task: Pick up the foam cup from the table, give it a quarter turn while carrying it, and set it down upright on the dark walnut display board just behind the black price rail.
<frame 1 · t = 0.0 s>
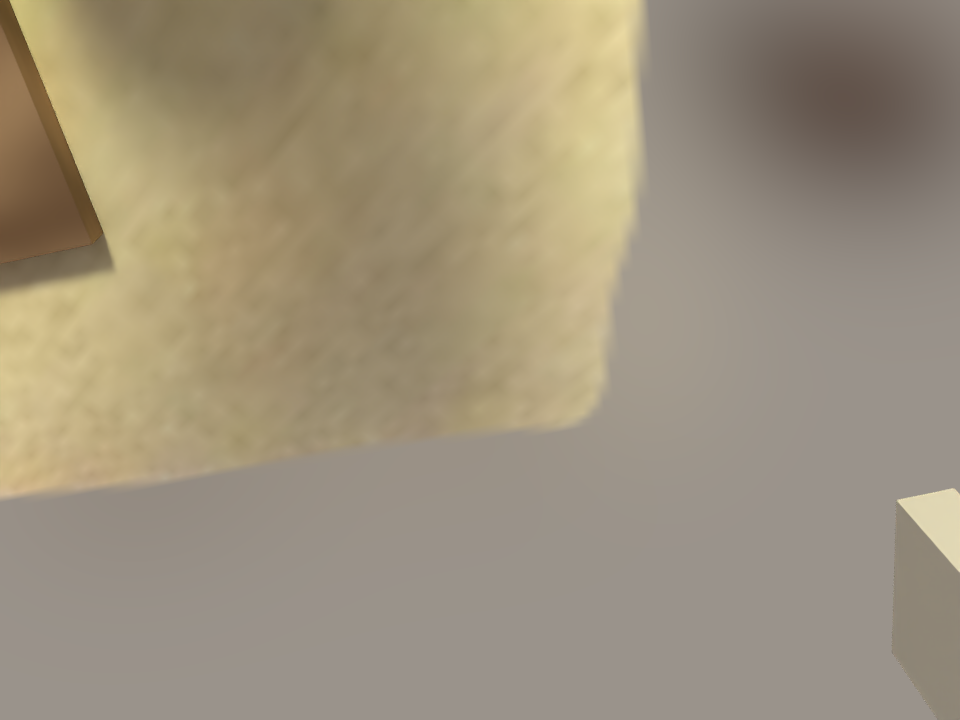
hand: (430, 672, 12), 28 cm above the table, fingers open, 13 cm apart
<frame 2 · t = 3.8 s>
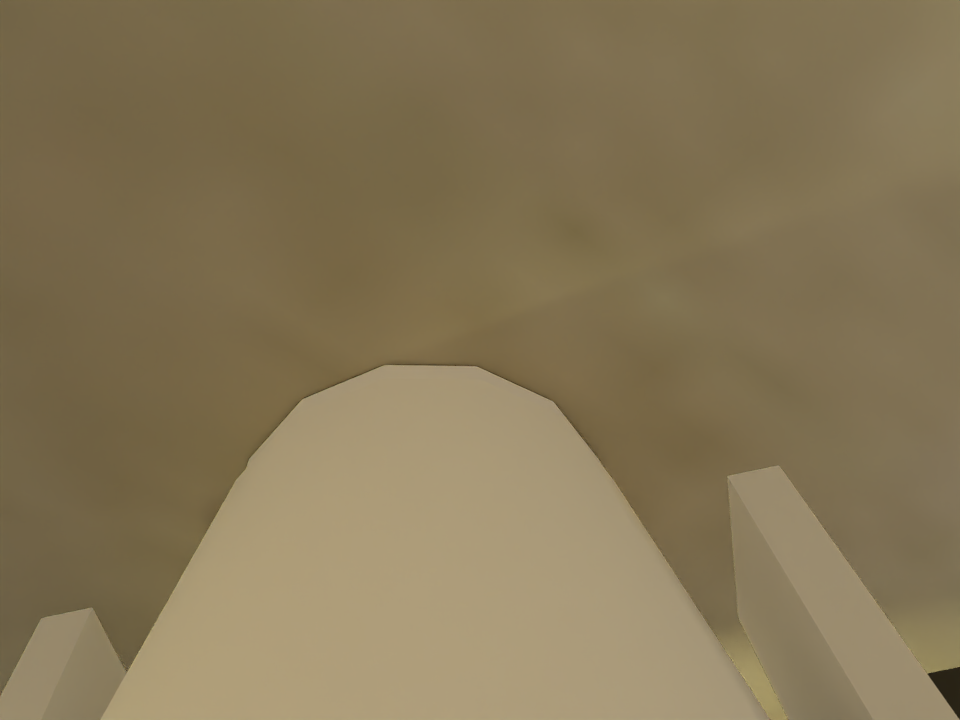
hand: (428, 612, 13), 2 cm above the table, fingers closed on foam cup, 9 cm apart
foam cup: (424, 521, 15), on the table, touching gripper
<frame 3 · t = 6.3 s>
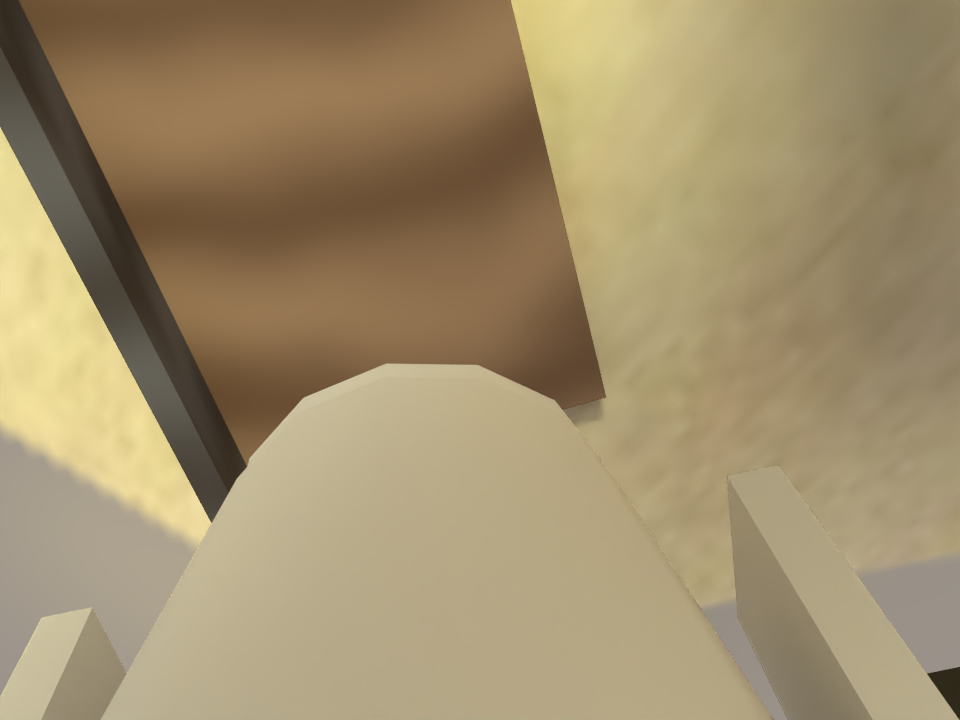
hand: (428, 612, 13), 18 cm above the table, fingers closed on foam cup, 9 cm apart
foam cup: (426, 520, 15), point 16 cm above the table, touching gripper
shelf board: (324, 176, 28), on the table
when the fingers open (5 cm above the table, at t = 8.8 s): foam cup drops 2 cm, resting on shelf board.
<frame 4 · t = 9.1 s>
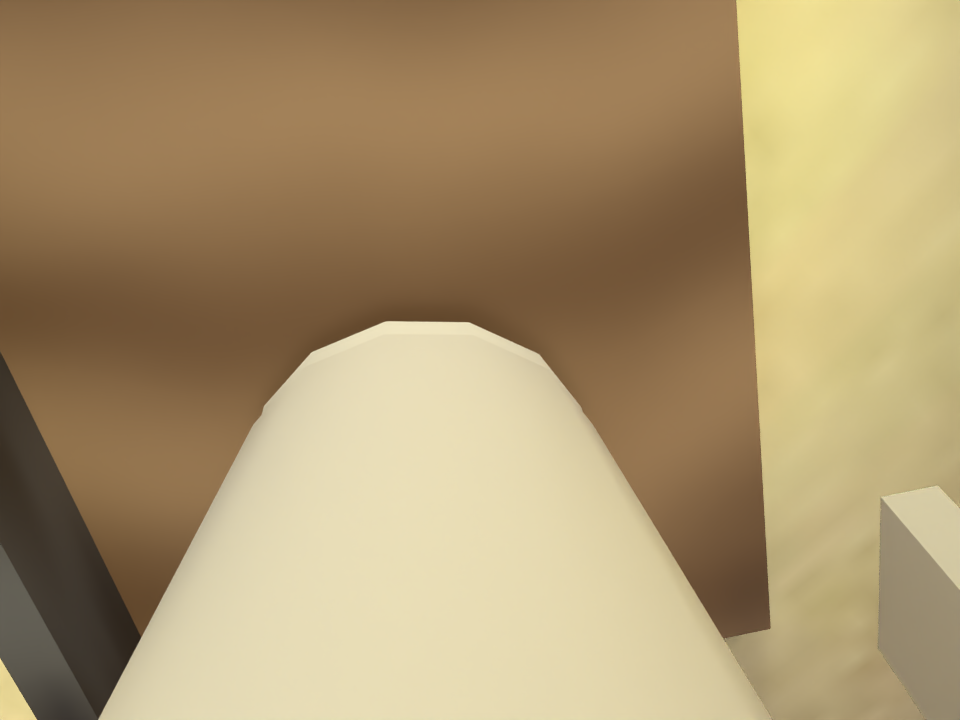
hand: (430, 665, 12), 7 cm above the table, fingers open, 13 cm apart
foam cup: (423, 462, 17), point 2 cm above the table, touching shelf board
shelf board: (347, 249, 16), on the table
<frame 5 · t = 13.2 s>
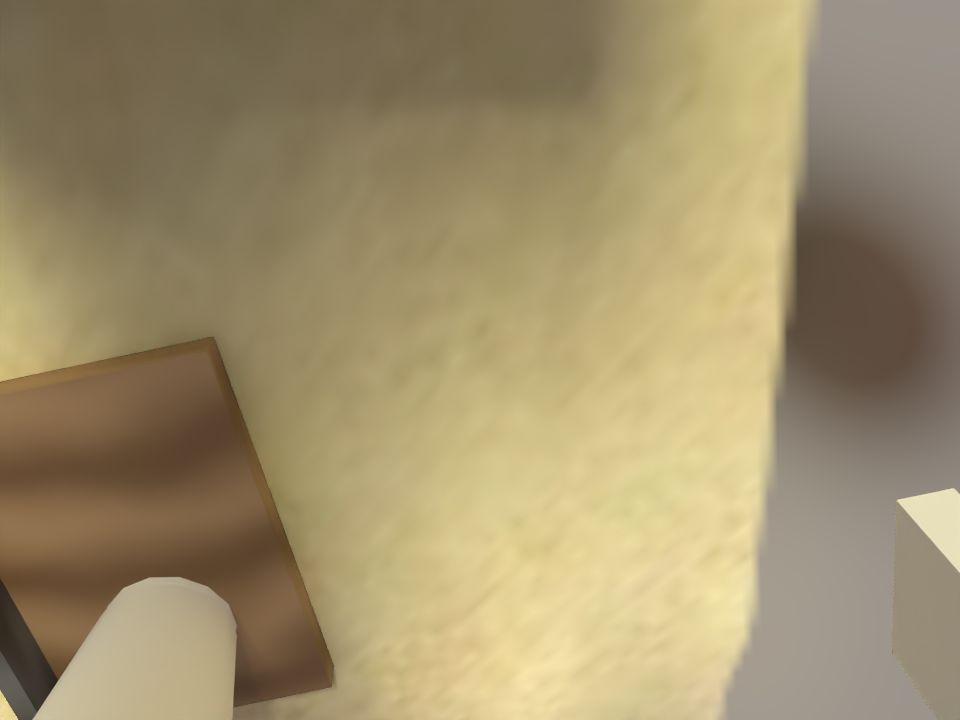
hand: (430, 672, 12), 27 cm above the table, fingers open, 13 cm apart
foam cup: (172, 623, 43), point 1 cm above the table, touching shelf board
shelf board: (140, 547, 43), on the table
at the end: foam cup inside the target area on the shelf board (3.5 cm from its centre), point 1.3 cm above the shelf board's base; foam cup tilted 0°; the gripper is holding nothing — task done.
